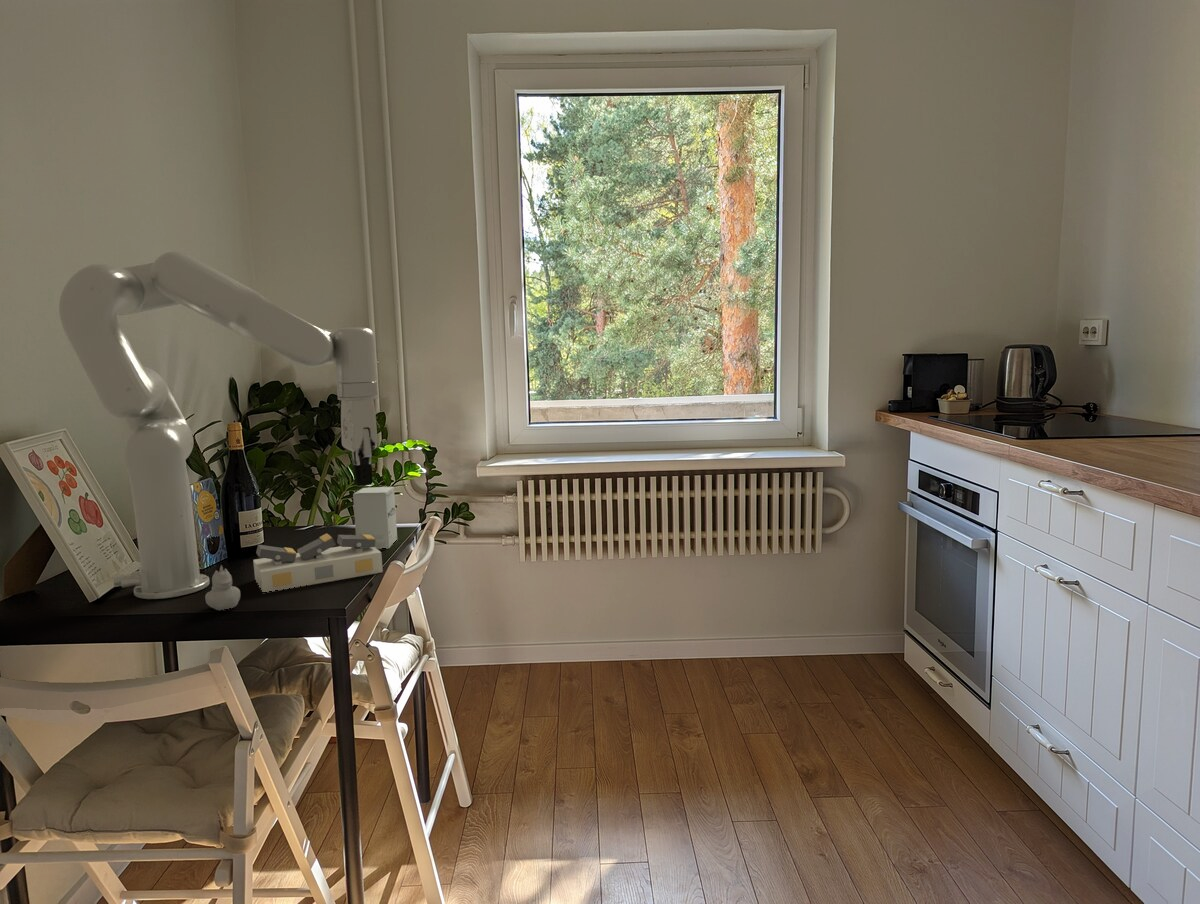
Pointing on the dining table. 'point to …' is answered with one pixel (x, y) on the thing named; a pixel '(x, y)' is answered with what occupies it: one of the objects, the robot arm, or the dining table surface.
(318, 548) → the rocker
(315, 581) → the switch console
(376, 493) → the supplement box
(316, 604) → the dining table surface
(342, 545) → the rocker
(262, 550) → the rocker
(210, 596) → the rubber duck
